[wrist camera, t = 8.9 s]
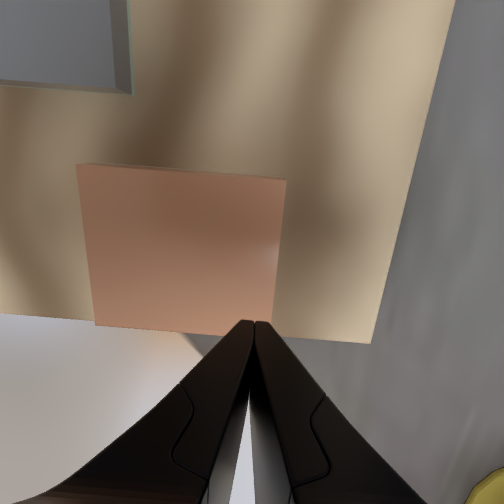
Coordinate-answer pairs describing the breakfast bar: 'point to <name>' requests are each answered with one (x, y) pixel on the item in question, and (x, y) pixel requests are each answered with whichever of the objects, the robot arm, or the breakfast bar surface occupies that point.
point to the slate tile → (67, 45)
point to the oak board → (238, 144)
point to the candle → (489, 490)
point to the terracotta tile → (180, 246)
